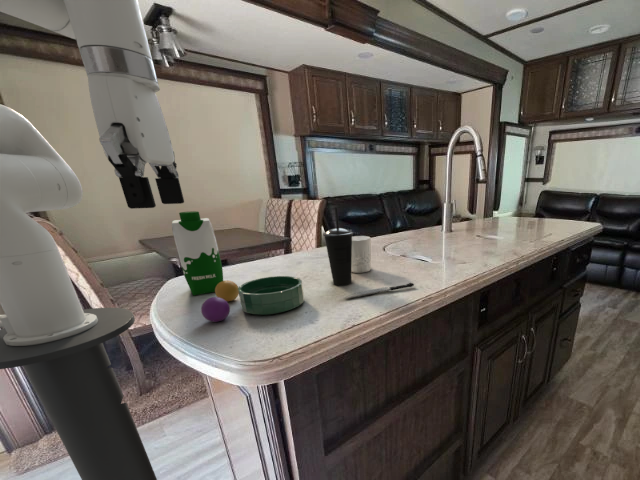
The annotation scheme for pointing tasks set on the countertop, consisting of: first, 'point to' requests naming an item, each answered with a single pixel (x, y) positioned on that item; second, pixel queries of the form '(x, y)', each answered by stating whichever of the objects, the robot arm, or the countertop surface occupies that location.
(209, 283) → the milk carton
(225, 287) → the ochre ball
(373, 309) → the countertop surface
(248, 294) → the bowl
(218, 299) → the plum ball
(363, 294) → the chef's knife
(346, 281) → the drinking cup
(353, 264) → the white cup
